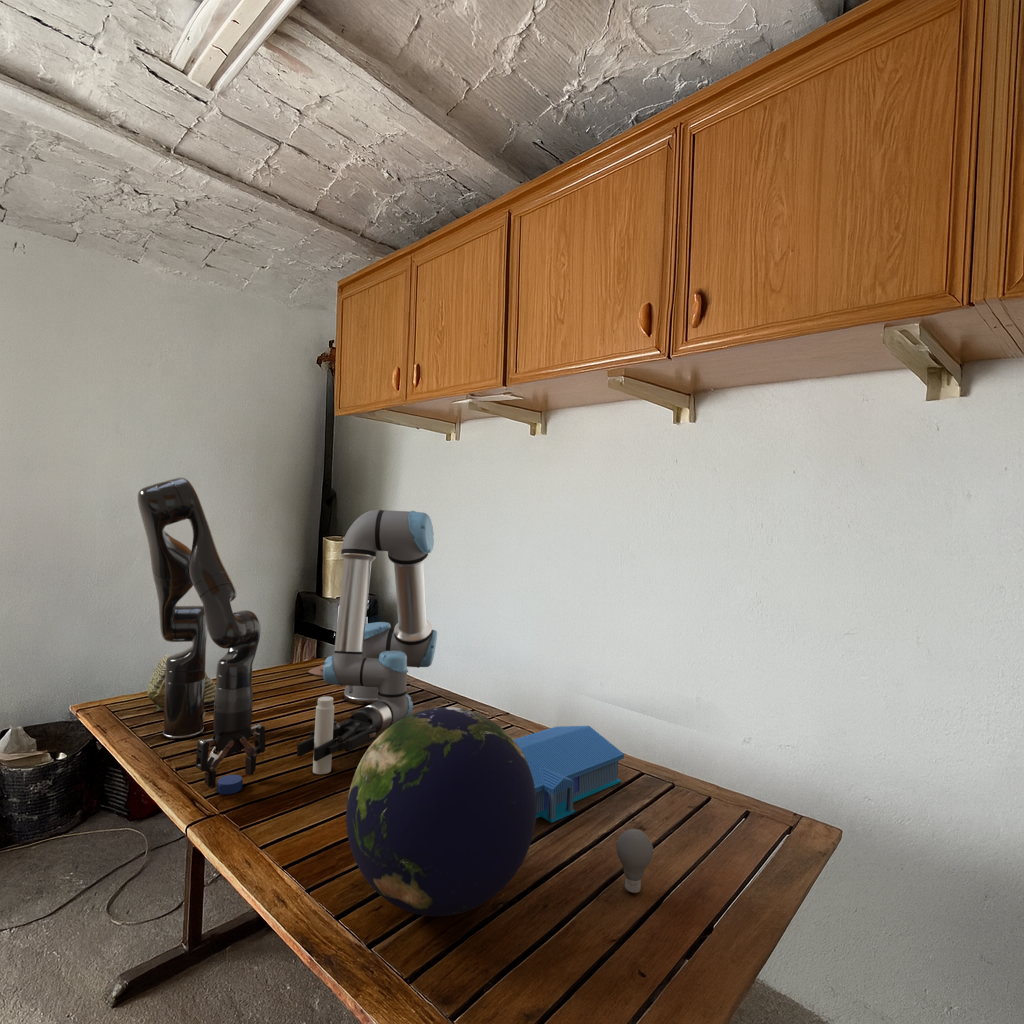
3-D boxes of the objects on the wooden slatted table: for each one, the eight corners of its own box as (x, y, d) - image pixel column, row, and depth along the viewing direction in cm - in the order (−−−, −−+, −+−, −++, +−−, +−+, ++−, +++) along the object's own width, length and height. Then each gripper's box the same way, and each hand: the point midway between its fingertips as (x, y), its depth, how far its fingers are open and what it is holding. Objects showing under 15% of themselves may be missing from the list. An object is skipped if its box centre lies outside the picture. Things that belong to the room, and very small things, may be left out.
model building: (505, 843, 118) (507, 790, 118) (429, 794, 136) (431, 748, 136) (632, 786, 145) (634, 743, 144) (555, 752, 163) (557, 713, 163)
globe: (300, 927, 93) (307, 725, 93) (407, 832, 121) (414, 676, 120) (484, 995, 82) (495, 765, 81) (556, 873, 110) (564, 701, 109)
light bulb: (610, 879, 108) (613, 822, 108) (644, 879, 109) (647, 822, 109) (619, 902, 102) (622, 840, 102) (655, 901, 103) (658, 840, 103)
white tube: (309, 773, 145) (313, 700, 145) (317, 766, 149) (321, 695, 149) (326, 775, 144) (330, 701, 144) (334, 768, 148) (337, 696, 148)
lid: (244, 790, 135) (245, 781, 135) (219, 796, 132) (220, 786, 132) (239, 781, 139) (239, 772, 139) (214, 787, 136) (214, 777, 136)
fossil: (144, 707, 182) (145, 655, 182) (212, 696, 194) (213, 647, 194) (151, 716, 175) (153, 662, 175) (221, 703, 188) (223, 653, 188)
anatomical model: (304, 662, 222) (320, 655, 233) (303, 674, 222) (320, 665, 234) (339, 666, 220) (353, 658, 231) (338, 677, 220) (353, 669, 231)
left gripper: (209, 718, 127) (206, 797, 128) (273, 701, 139) (270, 775, 139) (191, 709, 132) (188, 786, 132) (254, 694, 143) (252, 765, 144)
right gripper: (397, 741, 159) (337, 777, 138) (342, 729, 166) (276, 761, 145) (398, 712, 159) (338, 743, 138) (343, 701, 166) (277, 728, 145)
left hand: (230, 780), depth 136 cm, fingers open, 8 cm apart
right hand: (307, 752), depth 141 cm, fingers closed on white tube, 4 cm apart
